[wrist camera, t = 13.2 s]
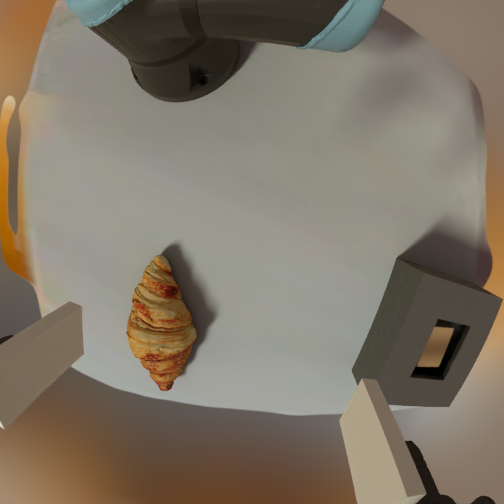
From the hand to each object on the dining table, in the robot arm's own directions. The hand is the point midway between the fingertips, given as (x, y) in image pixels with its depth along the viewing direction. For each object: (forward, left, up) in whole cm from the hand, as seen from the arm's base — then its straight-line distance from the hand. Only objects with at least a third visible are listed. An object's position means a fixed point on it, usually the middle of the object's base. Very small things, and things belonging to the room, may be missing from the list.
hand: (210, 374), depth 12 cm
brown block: (+4, +27, -26) cm, 37 cm away
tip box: (+4, +27, -26) cm, 38 cm away
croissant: (+13, -9, -27) cm, 31 cm away
